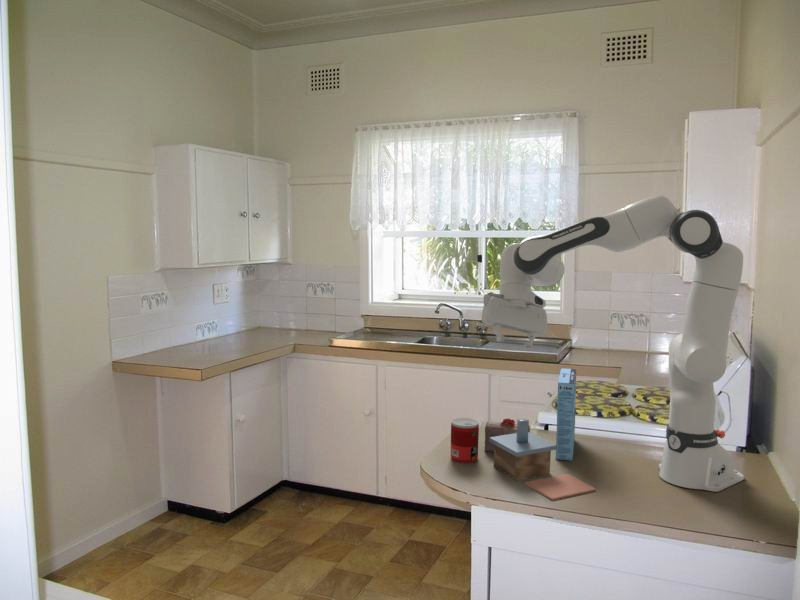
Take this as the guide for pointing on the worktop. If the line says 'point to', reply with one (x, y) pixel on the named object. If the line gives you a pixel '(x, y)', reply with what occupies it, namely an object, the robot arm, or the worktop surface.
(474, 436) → the canned food
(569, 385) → the blue box
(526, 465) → the crate
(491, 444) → the food item
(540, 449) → the lid
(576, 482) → the mat
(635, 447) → the worktop surface
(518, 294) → the robot arm
